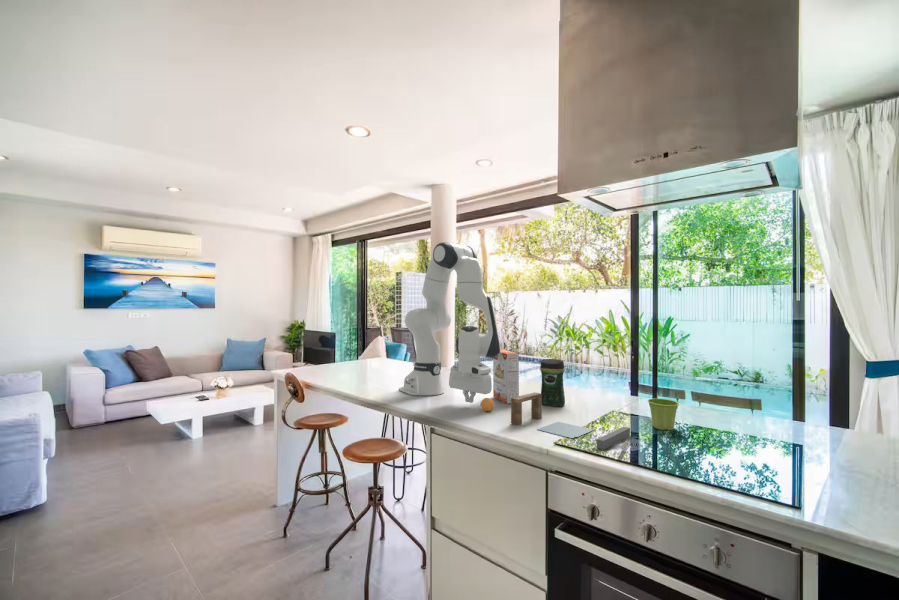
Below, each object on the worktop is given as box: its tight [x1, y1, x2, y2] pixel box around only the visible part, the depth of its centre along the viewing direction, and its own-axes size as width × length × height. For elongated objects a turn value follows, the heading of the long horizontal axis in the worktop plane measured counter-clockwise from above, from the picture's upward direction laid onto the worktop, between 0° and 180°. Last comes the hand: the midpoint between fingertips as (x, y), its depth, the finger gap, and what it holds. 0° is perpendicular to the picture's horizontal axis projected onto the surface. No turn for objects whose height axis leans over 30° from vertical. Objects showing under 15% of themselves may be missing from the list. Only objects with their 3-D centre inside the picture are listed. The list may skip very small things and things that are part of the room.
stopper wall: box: [596, 426, 631, 451], centre depth 121 cm, size 2×18×2 cm, turn 134°
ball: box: [480, 397, 495, 412], centre depth 156 cm, size 5×5×5 cm
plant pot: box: [647, 398, 680, 431], centre depth 136 cm, size 9×9×9 cm
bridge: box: [510, 391, 543, 426], centre depth 144 cm, size 3×14×9 cm, turn 134°
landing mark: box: [536, 421, 595, 439], centre depth 133 cm, size 13×13×1 cm
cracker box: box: [492, 349, 520, 405], centre depth 176 cm, size 14×6×21 cm, turn 17°
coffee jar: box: [539, 358, 566, 407], centre depth 168 cm, size 10×8×19 cm
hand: (469, 402), depth 164 cm, fingers closed
